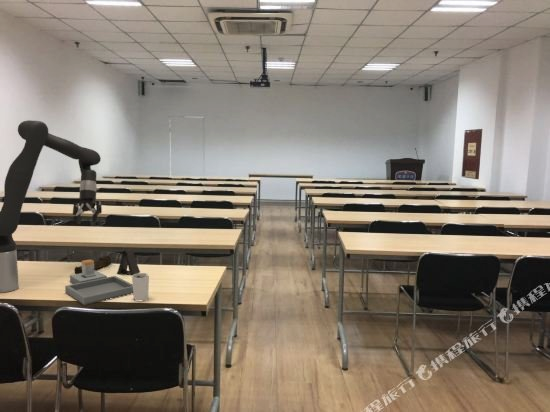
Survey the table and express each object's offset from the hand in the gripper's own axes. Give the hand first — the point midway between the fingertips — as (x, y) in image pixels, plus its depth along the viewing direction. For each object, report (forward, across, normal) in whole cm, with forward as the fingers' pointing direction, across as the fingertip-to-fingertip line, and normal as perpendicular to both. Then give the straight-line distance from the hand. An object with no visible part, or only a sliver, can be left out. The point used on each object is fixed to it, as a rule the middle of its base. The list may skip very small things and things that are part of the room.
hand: (86, 223), depth 210 cm
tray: (+34, +19, -15) cm, 42 cm away
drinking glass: (+37, +39, -17) cm, 56 cm away
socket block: (+28, +6, -4) cm, 29 cm away
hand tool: (+22, -4, +13) cm, 26 cm away
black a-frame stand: (+25, +16, +12) cm, 32 cm away
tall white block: (+28, +6, -4) cm, 29 cm away
